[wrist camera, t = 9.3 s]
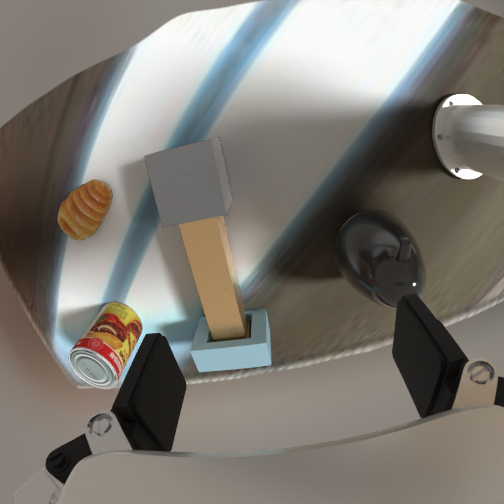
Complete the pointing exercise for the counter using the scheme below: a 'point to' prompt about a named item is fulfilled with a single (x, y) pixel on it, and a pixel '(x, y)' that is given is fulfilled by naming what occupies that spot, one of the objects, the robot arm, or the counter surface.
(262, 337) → the socket block
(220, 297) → the tan wooden plank
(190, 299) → the counter surface
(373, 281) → the pump dispenser
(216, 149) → the gray square block
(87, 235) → the pastry
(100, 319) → the canned food
